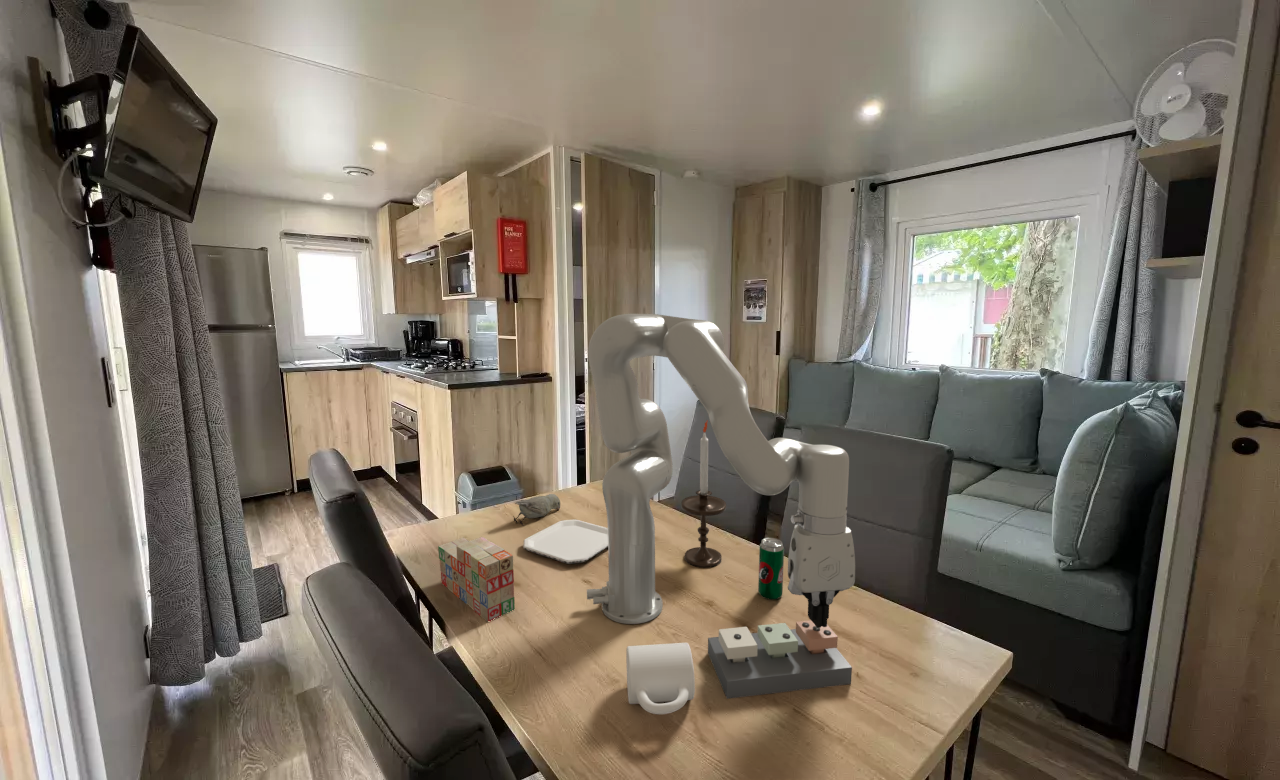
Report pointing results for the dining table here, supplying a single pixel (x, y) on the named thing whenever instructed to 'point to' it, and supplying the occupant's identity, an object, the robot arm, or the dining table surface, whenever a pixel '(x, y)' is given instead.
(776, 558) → the soda can
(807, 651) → the button panel
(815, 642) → the button three
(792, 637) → the button two
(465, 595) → the stack of blocks
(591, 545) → the plate
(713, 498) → the candlestick
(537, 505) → the decorative bird
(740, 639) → the button one
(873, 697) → the dining table surface
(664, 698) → the mug
